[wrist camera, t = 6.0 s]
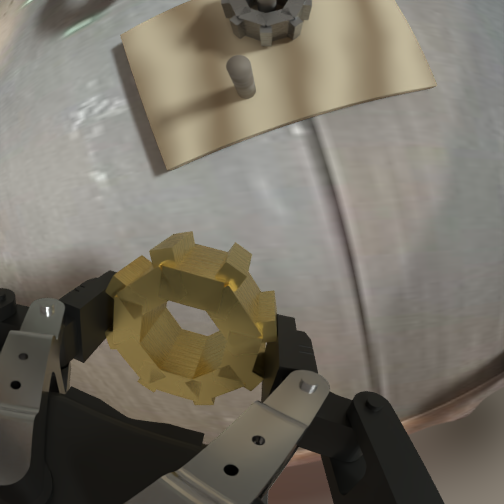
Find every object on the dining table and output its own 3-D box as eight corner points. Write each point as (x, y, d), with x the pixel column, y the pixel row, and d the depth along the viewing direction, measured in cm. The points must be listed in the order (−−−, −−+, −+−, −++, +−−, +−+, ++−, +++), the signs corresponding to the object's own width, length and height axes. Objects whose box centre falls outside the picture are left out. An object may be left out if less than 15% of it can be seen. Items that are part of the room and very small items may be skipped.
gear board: (173, 169, 24) (134, 172, 16) (127, 40, 20) (86, 10, 13) (429, 88, 20) (476, 70, 13) (364, -30, 17) (386, -71, 9)
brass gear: (186, 379, 14) (169, 422, 11) (110, 277, 13) (72, 304, 10) (299, 328, 13) (306, 373, 10) (222, 203, 12) (205, 214, 8)
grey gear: (244, 56, 19) (239, 41, 16) (217, 1, 18) (210, -17, 15) (319, 35, 18) (325, 18, 15) (288, -18, 17) (289, -38, 14)
